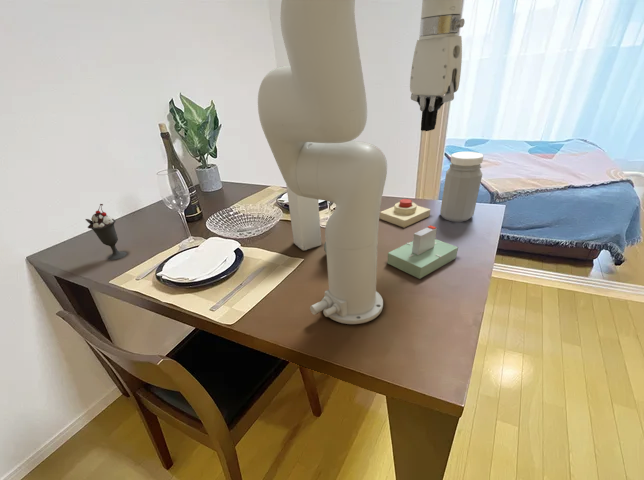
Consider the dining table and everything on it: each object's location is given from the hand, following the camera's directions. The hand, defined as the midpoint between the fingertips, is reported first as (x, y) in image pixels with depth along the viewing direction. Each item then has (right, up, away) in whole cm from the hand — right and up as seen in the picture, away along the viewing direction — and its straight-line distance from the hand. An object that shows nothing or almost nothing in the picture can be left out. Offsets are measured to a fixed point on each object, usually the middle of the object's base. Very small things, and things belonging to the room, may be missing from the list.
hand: (427, 129), depth 77 cm
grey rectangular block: (0, -28, +3) cm, 28 cm away
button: (+1, -11, +25) cm, 27 cm away
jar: (+17, -14, +25) cm, 33 cm away
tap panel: (0, -30, +5) cm, 31 cm away
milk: (-29, -24, +16) cm, 41 cm away
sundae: (-84, -27, +19) cm, 91 cm away
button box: (+2, -14, +27) cm, 30 cm away
